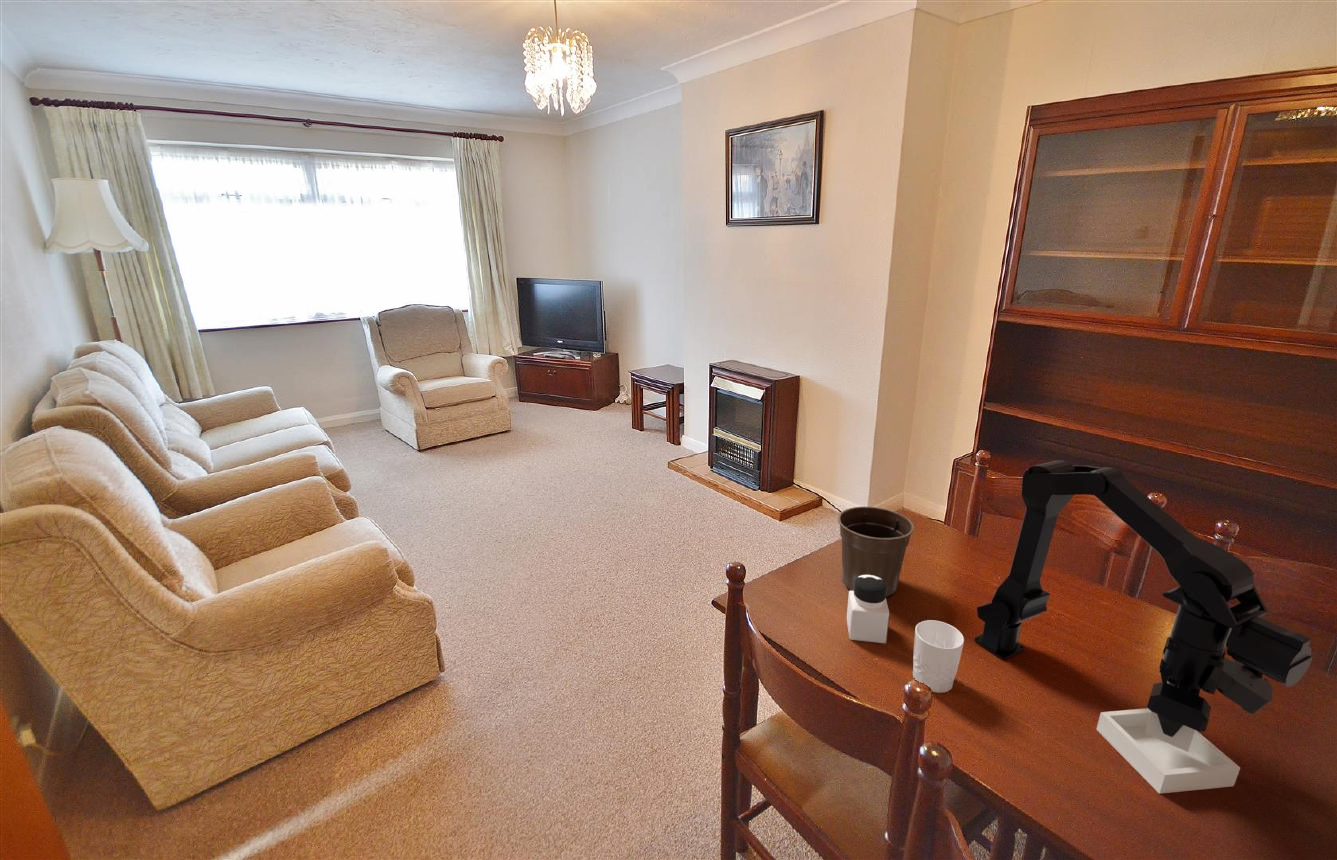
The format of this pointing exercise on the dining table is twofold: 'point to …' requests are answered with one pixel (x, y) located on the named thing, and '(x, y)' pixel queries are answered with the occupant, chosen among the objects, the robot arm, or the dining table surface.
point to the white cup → (936, 654)
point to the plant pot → (873, 544)
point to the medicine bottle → (868, 610)
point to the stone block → (1178, 740)
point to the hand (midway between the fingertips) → (1170, 724)
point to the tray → (1166, 755)
